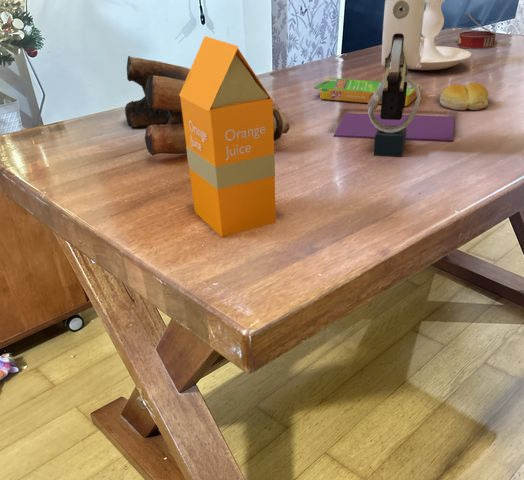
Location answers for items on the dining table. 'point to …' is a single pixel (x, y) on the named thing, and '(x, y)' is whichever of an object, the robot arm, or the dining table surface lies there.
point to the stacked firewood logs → (168, 106)
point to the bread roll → (465, 97)
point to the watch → (391, 137)
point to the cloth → (416, 130)
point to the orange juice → (229, 140)
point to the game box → (356, 90)
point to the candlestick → (428, 52)
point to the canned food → (476, 38)
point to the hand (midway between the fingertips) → (392, 112)
